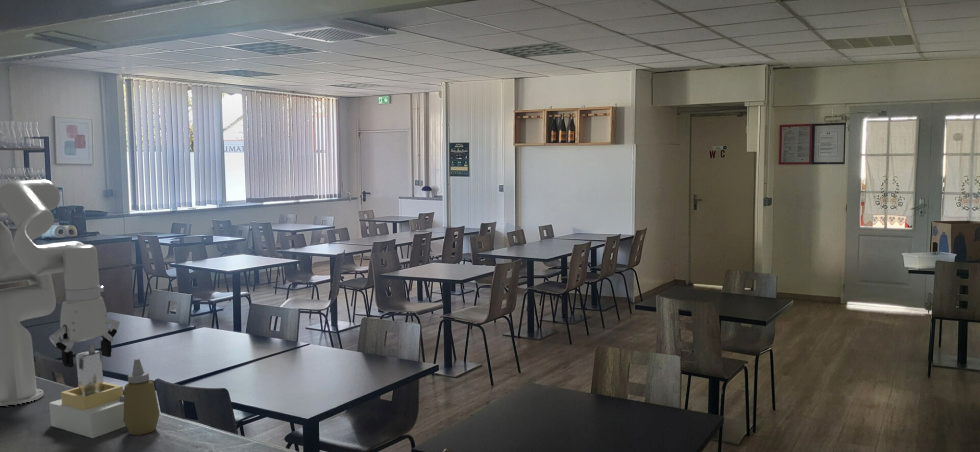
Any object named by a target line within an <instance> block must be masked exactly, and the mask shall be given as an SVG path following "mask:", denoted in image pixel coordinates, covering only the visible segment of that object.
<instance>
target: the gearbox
mask: <svg viewBox="0 0 980 452" xmlns="http://www.w3.org/2000/svg"><path fill="white" fill-rule="evenodd" d="M103 383H104V391H101V392H98V393H95V394H92V395H88V396H82V395H79V386H77V387H74V388H71V389H67V390H63V391H60V397H61V398H60V399H57V400H53V401H50V402H48V405H49V417H50V426H51V427H54V428H58V429H61V430H65V431H67V432H70V433H74V434H77V435H81V436H84V437H88V438H91V439H94V438H97V437H99V436H103V435H106V434H108V433H111V432H115V431H116V430H119V429H122V428H126V425H125V423H124V389H123V388H124V387H123V385H118V384H113V383H111V382H106V381H103Z"/></svg>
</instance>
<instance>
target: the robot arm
mask: <svg viewBox="0 0 980 452" xmlns="http://www.w3.org/2000/svg"><path fill="white" fill-rule="evenodd" d="M60 201H61V194H60V191H59V188H58V187H57V186H56V184H55V183H54V182H52V181H51V180H48V179H41V178H40V179H23V180H12V181H7V182H5V183H3V184H1V185H0V217H1V218H2V217H3V218H4V217H9V218H10V220H11V221H12V222H13V224H14V226H16V227H17V228H16V231H15V233H14V236H13V235H12V232H11V231H12V230H10V229H9V228H8V226H7V225H5V223H3V222H2V221H0V285H6V284H12V283H13V284H14V283H18V282H19V283H20V282H26V281H27V283H28V285H27V284H26V285H22V286H14V287H13V286H12V287H7V288H1V289H0V406H6V405H15V406H18V405H17V404H20V405H23V404H22V403H25V404H27V403H26V402H29V403H31V401H32V402H34V400H35V401H37V400H39V399H41V398H42V397H43V396H44V390H43V389H41V388H37V379H36V369H35V359H34V348H33V340H32V339H33V338H32V334H31V333H30V331H29V330H28V329H27V328H26V327H24V326H23V325H22V323H21V322H23V321H26V320H31V319H35V318H40V317H44V316H48V315H51V314H52V313H53V312H54V311H55V309H56V305H57V298H56V293H55V288H54V283H53V279H52V278H53V277H52V274H59V273H63V278H64V291H65V292H64V293H65V301H62V302H61V303H62V304H61V309H60V318H59V321H60V322H59V323H60V325H59V326H60V328H59V329H57V330H56V331H55V332H53V333H52V334H51V335H49V337H48V339H49V341H50V342H51V344H52V345H53V346H54V347H55V348H56V349H58V350H59V351H61V360H62V364H63V366H64V367H67V368H71V369H72V368H73V367H74V353H73V351H72V350H71V349H72V348H73V347H74V345H75V343H80V342H84V341H88V340H91V339H92V340H93V339H96V338H100V339H101V340H100V352H101V357H106V358H111V357H112V351H113V349H112V341H114V337H115V336H116V334H117V332H118V328H119V326H120V321H118V320H115V319H112V318H108V313H107V307H106V304H105V301H104V298H103V296H101V293H103V292H104V291H105V287H104V286H103V285H100V275H99V273H100V272H99V261H98V260H99V258H98V249H97V248H96V246H95V245H93V244H85V243H84V242H81V241H77V240H72V241H71V240H70V241H62V242H60V241H59V242H53V243H43V244H38V245H37V244H36V243H35V242H34V240H35V239H37V238H39V237H41V236H42V235H45V233H47V232H49V230H50V229H51V228H52V227H53V225H54V223H55V216H54V214H53V212H52V210H54V209H56V208H57V207H58V206H59V204H60ZM109 325H110V328H109ZM60 339H61V341H62V342H61V341H60ZM6 407H7V406H6Z"/></svg>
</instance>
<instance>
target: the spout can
mask: <svg viewBox="0 0 980 452" xmlns="http://www.w3.org/2000/svg"><path fill="white" fill-rule="evenodd" d="M87 349H88V350H87V351H83V352H80V353H79V352H78V353H77V354H75V362H76V373H77V382H78V384H77V385H78V387H79V395H82V396H88V395H92V394H95V393H98V392H101V391H104V383H103V382H104V375H103V364H102V363H103V362H102V355H101V350H96V348H95V344H94V343H92V344H88V345H87Z"/></svg>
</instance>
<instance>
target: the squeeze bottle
mask: <svg viewBox="0 0 980 452" xmlns="http://www.w3.org/2000/svg"><path fill="white" fill-rule="evenodd" d="M127 382H128V383H127V384H125V385H124V387H123V388H124V389H123V395H124V423H125V425H126V426H125V428H127V431H128V432H129V434H131V435H133V436H139V435H145V434H149V433H152V432H154V431H155V430H156V429H157V425H158V421H159V419H160V414H161V413H160V409H159V403H158V399H157V393H156V388H155V382H154V381H152V380H151V379H150V374H149V372H148V371H144V368H143V365H142V362H141V360H140V358H136V359H134V360H133V367H132V373H129V374H127Z"/></svg>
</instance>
